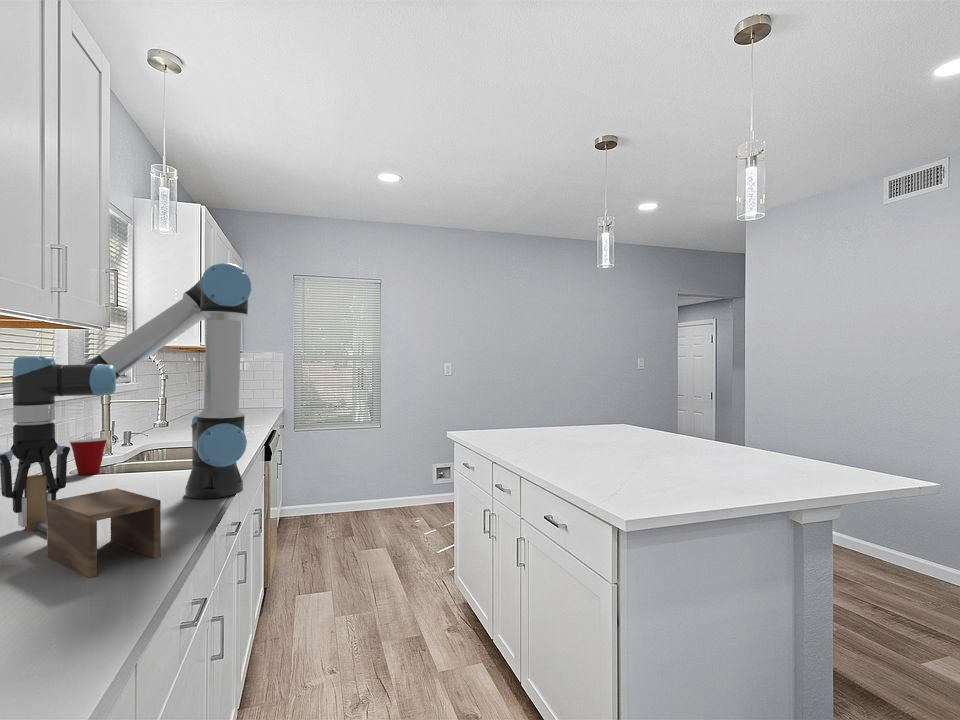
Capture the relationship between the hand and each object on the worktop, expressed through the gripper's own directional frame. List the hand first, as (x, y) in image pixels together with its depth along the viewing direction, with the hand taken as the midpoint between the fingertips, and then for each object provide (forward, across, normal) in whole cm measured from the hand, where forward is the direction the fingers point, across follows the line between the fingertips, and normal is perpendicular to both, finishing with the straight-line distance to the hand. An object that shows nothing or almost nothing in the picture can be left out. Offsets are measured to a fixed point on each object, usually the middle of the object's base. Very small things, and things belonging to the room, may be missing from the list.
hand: (35, 522), depth 125 cm
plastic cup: (+1, -33, -55) cm, 64 cm away
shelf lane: (+1, 0, +34) cm, 34 cm away
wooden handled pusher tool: (+1, 0, +10) cm, 10 cm away
